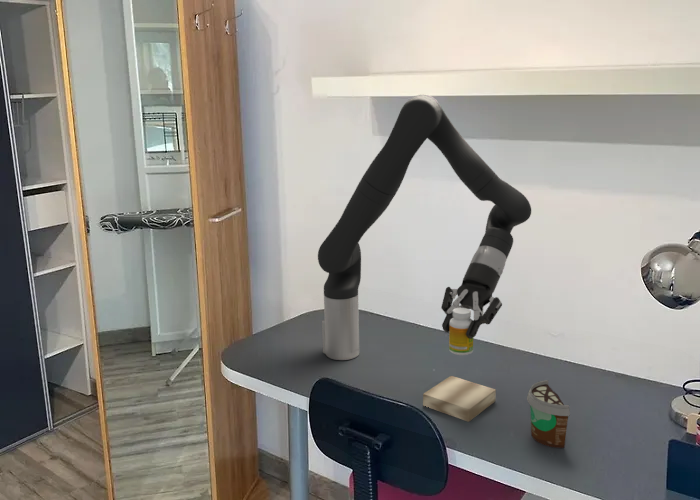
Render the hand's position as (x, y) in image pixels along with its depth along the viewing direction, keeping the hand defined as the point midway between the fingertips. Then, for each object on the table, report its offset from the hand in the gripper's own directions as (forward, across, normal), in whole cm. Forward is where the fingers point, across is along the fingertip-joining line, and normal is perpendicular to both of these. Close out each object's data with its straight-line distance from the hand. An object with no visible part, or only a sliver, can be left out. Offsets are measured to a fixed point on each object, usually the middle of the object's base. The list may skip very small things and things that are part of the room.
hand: (457, 333), depth 149 cm
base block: (+11, 0, +14) cm, 18 cm away
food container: (+13, +21, +12) cm, 28 cm away
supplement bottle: (+2, 0, +5) cm, 5 cm away
